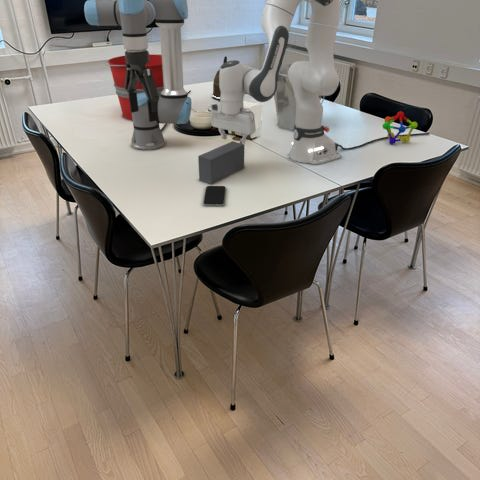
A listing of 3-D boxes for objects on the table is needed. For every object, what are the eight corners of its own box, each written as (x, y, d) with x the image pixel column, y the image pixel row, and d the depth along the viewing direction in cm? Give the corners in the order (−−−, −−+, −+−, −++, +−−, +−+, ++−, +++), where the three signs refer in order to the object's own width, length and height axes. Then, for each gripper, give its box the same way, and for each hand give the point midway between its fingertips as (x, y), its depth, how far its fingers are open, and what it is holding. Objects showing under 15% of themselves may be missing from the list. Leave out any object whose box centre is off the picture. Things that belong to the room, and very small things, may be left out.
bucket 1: (122, 105, 263) (114, 51, 248) (180, 106, 263) (177, 52, 247) (105, 123, 234) (95, 63, 218) (171, 124, 233) (166, 64, 217)
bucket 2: (296, 138, 215) (301, 78, 201) (255, 124, 234) (256, 68, 219) (335, 125, 232) (342, 70, 217) (294, 113, 251) (297, 61, 236)
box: (211, 184, 170) (210, 159, 165) (199, 180, 173) (198, 155, 168) (244, 167, 184) (244, 144, 179) (232, 164, 188) (232, 141, 182)
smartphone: (203, 204, 154) (206, 185, 167) (203, 205, 155) (206, 187, 167) (223, 204, 154) (225, 185, 167) (223, 206, 155) (225, 187, 167)
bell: (227, 105, 294) (202, 96, 282) (238, 66, 289) (213, 55, 277) (243, 108, 280) (217, 98, 268) (255, 66, 275) (229, 55, 263)
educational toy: (377, 146, 209) (379, 114, 202) (384, 138, 219) (386, 107, 211) (411, 149, 202) (415, 116, 195) (417, 141, 212) (420, 109, 204)
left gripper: (166, 54, 135) (171, 122, 147) (129, 44, 152) (136, 106, 163) (144, 57, 131) (151, 127, 143) (109, 46, 148) (118, 109, 159)
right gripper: (258, 108, 166) (259, 143, 174) (217, 100, 177) (219, 134, 184) (248, 112, 162) (249, 148, 169) (206, 104, 173) (209, 138, 180)
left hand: (143, 116), depth 153 cm, fingers open, 13 cm apart
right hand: (233, 141), depth 177 cm, fingers open, 8 cm apart
